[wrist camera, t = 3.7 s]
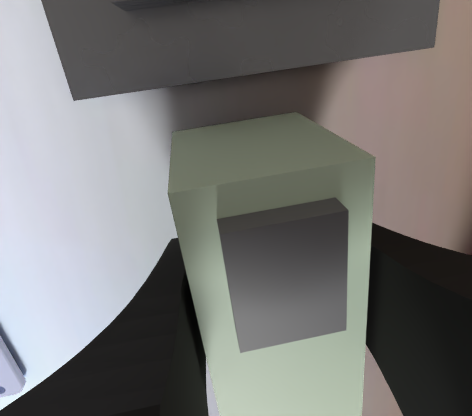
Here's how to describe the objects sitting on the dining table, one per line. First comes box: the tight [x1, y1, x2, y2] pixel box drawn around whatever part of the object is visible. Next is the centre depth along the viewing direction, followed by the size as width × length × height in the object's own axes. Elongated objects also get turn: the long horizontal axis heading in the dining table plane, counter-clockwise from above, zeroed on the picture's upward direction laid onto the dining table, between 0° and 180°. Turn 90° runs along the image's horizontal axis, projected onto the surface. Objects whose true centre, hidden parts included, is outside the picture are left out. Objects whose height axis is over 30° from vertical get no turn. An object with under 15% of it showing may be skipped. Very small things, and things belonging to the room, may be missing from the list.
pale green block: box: [168, 112, 375, 416], centre depth 10 cm, size 4×8×6 cm, turn 7°
